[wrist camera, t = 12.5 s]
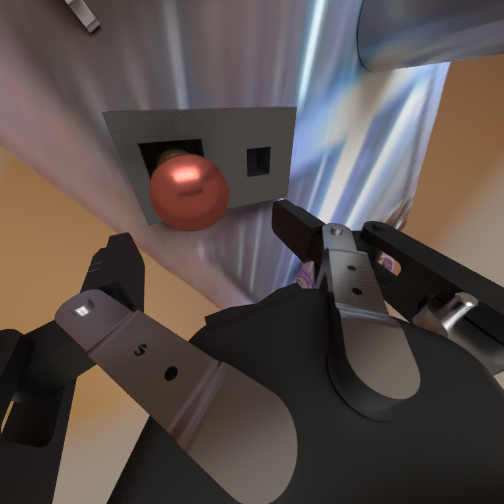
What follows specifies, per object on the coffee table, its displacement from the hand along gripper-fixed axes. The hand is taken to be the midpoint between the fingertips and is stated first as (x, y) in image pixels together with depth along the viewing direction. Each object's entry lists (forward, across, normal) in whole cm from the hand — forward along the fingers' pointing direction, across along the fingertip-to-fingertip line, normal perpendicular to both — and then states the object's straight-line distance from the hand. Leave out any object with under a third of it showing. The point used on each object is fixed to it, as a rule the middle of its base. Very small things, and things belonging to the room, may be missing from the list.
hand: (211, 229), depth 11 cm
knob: (+15, 0, 0) cm, 15 cm away
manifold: (+15, -4, 0) cm, 16 cm away
